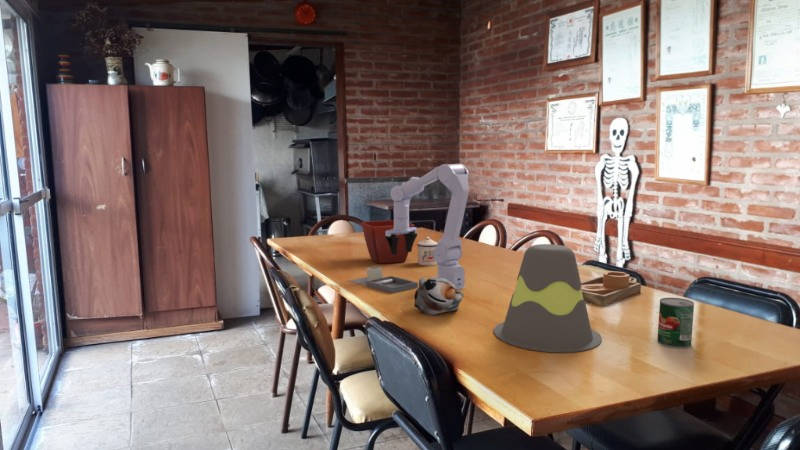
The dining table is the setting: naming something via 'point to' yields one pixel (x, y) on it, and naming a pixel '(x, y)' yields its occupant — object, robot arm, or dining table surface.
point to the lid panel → (359, 281)
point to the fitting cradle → (609, 297)
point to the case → (392, 284)
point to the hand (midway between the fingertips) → (401, 253)
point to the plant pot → (383, 242)
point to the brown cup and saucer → (608, 283)
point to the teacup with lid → (426, 252)
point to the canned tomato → (675, 322)
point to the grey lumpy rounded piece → (436, 296)
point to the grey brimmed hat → (548, 304)
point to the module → (374, 273)
